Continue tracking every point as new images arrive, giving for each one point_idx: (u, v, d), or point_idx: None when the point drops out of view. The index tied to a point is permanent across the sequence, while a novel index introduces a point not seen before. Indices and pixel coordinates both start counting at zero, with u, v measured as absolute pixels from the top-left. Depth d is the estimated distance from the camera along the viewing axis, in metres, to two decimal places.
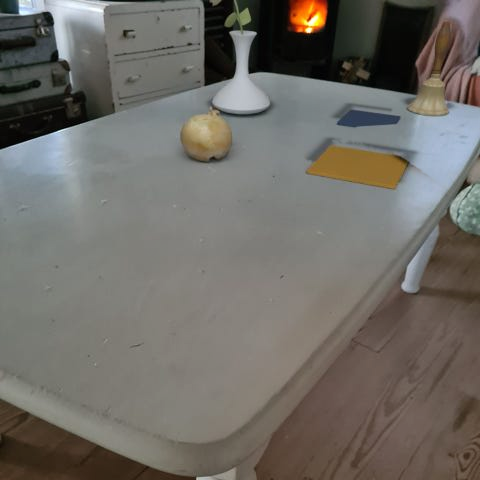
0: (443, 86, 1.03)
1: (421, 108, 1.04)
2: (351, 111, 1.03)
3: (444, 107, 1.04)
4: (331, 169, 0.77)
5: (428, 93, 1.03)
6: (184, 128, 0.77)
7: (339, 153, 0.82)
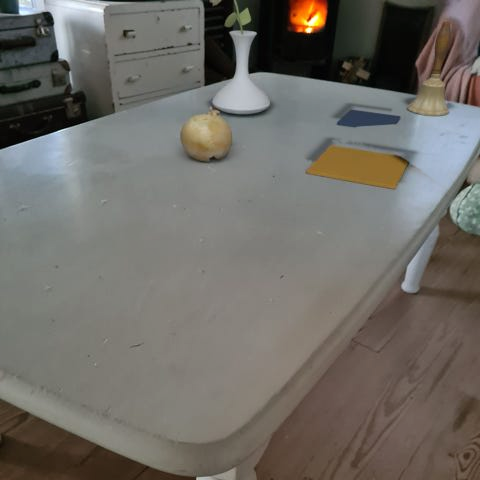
0: (443, 86, 1.03)
1: (421, 108, 1.04)
2: (351, 111, 1.03)
3: (444, 107, 1.04)
4: (331, 169, 0.77)
5: (428, 93, 1.03)
6: (184, 128, 0.77)
7: (339, 153, 0.82)
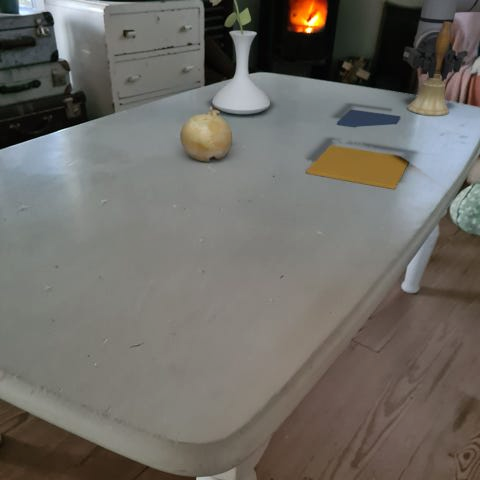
0: (443, 86, 1.03)
1: (421, 108, 1.04)
2: (351, 111, 1.03)
3: (444, 107, 1.04)
4: (331, 169, 0.77)
5: (428, 93, 1.03)
6: (184, 128, 0.77)
7: (339, 153, 0.82)
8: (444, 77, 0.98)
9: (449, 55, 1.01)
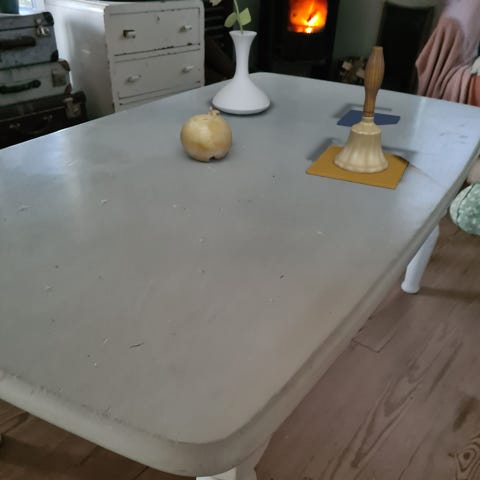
0: (378, 133, 0.75)
1: (349, 162, 0.76)
2: (351, 111, 1.03)
3: (381, 161, 0.76)
4: (331, 169, 0.77)
5: (358, 143, 0.75)
6: (184, 128, 0.77)
7: None
8: None
9: None
